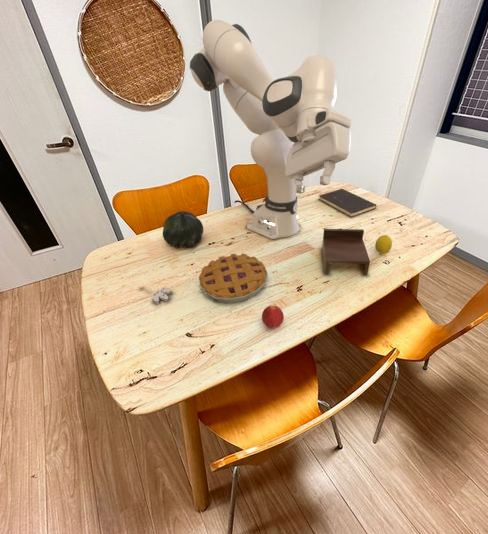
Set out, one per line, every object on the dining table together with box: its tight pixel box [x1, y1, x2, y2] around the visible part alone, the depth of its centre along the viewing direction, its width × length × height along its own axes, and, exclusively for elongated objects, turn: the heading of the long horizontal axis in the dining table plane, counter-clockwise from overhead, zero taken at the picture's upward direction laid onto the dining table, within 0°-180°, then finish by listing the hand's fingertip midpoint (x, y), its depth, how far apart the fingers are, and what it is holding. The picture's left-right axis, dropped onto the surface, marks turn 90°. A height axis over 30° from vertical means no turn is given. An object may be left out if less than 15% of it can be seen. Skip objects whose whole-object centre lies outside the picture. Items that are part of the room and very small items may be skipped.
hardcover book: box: [318, 188, 377, 218], centre depth 135 cm, size 16×23×2 cm
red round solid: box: [261, 304, 285, 329], centre depth 74 cm, size 6×6×8 cm
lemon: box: [374, 234, 393, 255], centre depth 100 cm, size 6×6×8 cm
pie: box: [198, 253, 269, 304], centre depth 89 cm, size 22×22×5 cm
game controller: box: [140, 287, 171, 305], centre depth 86 cm, size 6×12×3 cm, turn 79°
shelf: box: [321, 228, 371, 277], centre depth 96 cm, size 15×14×9 cm
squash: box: [162, 210, 204, 249], centre depth 106 cm, size 14×15×15 cm
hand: (311, 189), depth 66 cm, fingers open, 8 cm apart
